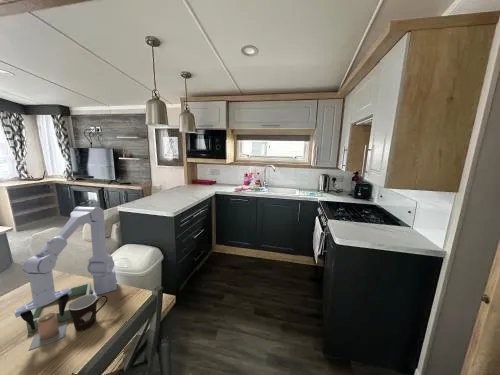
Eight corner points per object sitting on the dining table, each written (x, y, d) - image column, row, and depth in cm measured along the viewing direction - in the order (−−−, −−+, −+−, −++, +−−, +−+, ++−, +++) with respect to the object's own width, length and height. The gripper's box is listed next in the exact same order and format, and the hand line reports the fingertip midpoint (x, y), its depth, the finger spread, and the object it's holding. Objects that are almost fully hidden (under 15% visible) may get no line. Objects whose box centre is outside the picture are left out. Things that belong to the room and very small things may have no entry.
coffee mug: (68, 337, 75) (65, 313, 73) (75, 320, 82) (72, 298, 81) (106, 325, 80) (104, 302, 79) (109, 311, 88) (107, 290, 86)
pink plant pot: (57, 325, 79) (54, 309, 78) (60, 332, 76) (58, 316, 75) (38, 335, 75) (35, 318, 74) (41, 342, 72) (38, 325, 71)
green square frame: (91, 289, 101) (90, 282, 101) (88, 312, 87) (87, 303, 86) (40, 303, 91) (39, 295, 90) (27, 332, 76) (26, 322, 76)
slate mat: (67, 321, 82) (67, 320, 82) (63, 337, 74) (63, 337, 74) (36, 331, 77) (36, 331, 77) (28, 350, 69) (28, 350, 69)
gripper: (65, 274, 81) (69, 305, 83) (9, 295, 69) (16, 330, 71) (71, 280, 77) (75, 312, 79) (14, 303, 65) (21, 340, 67)
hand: (48, 321), depth 75 cm, fingers open, 7 cm apart
